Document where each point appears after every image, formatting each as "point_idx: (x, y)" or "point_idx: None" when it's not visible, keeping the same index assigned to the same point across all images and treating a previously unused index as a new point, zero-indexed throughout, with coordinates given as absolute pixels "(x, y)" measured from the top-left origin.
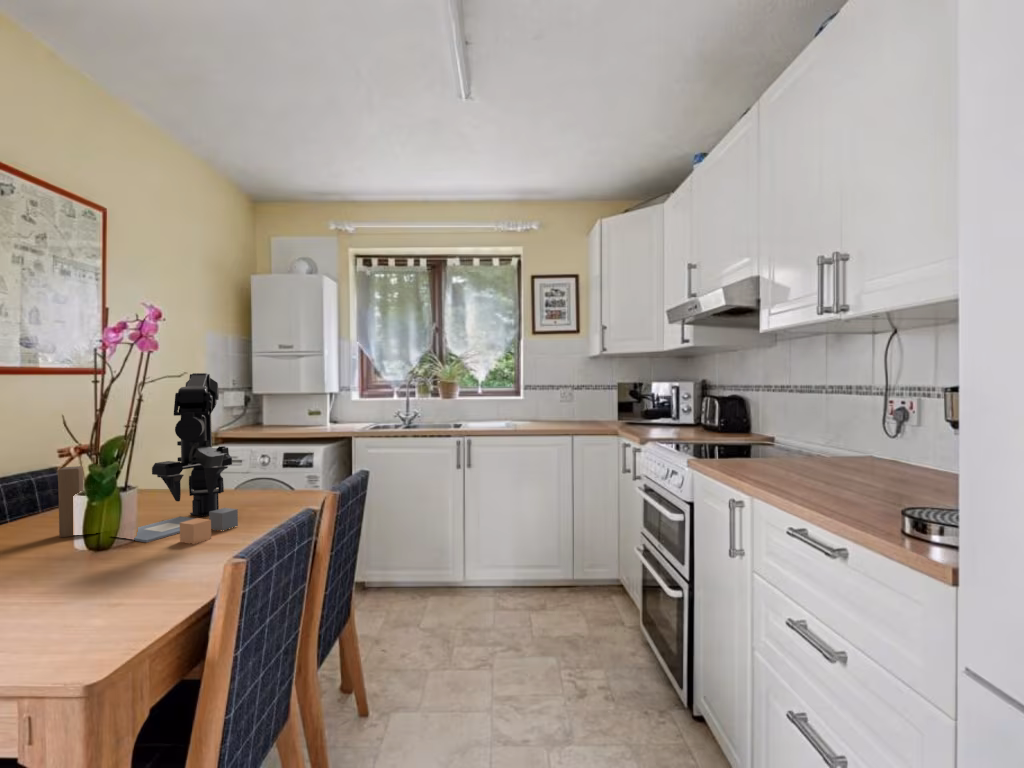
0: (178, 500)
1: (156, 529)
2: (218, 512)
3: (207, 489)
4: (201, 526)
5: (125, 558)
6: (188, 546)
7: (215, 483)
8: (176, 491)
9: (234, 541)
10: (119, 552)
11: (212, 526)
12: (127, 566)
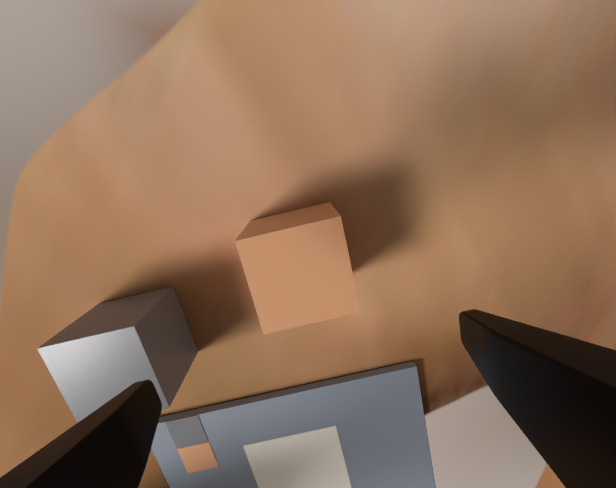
0: (478, 312)
1: (331, 464)
2: (140, 360)
3: (148, 449)
4: (294, 222)
5: (553, 227)
6: (358, 186)
7: (30, 460)
8: (592, 347)
9: (204, 86)
10: (520, 315)
11: (187, 345)
12: (611, 117)
